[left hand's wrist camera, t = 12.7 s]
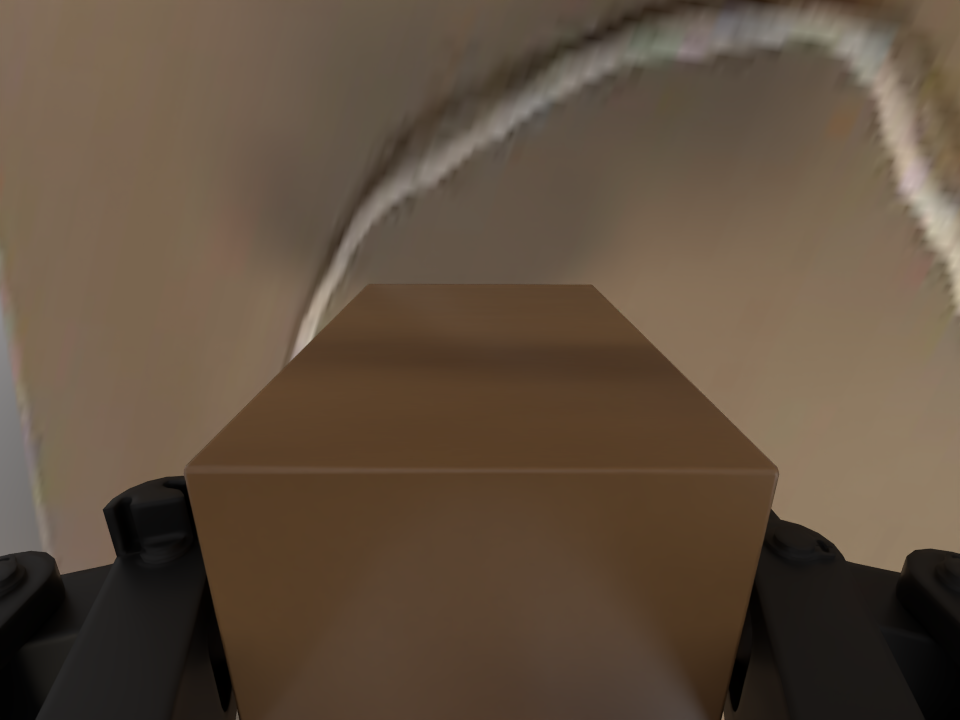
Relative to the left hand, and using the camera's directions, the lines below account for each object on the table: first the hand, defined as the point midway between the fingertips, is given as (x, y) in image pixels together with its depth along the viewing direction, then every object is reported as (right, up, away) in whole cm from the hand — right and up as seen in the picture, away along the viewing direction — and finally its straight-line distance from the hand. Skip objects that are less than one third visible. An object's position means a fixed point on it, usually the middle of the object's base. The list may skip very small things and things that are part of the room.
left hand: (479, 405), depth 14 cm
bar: (0, -9, +4) cm, 9 cm away
